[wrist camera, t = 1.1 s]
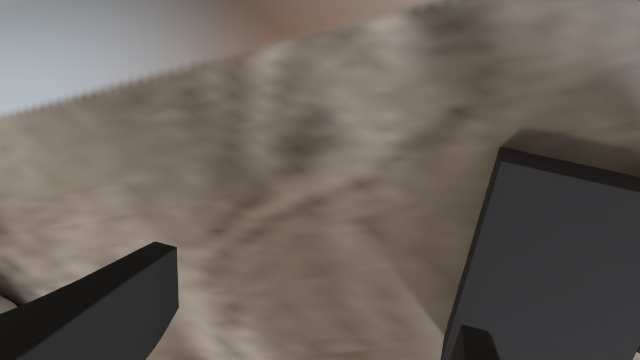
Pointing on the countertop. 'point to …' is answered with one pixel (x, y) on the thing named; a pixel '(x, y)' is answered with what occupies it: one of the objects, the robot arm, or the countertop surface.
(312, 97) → the countertop surface
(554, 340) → the tab pad
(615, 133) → the countertop surface
